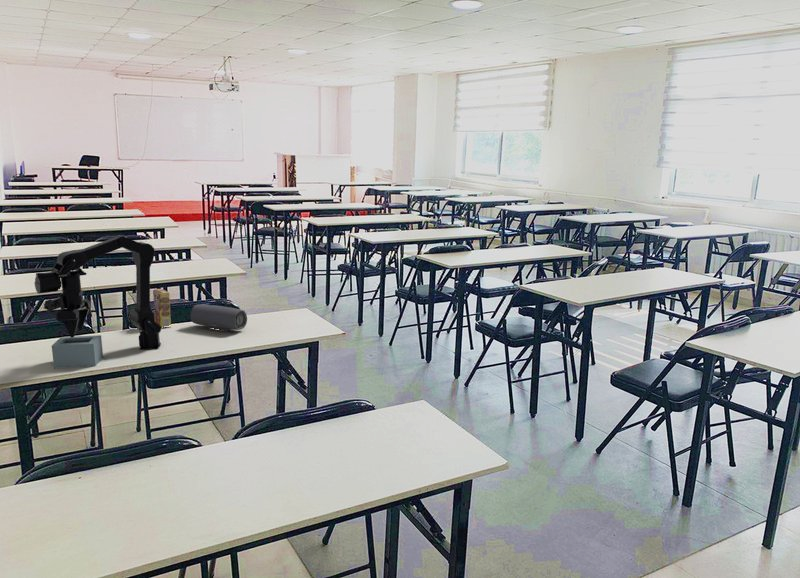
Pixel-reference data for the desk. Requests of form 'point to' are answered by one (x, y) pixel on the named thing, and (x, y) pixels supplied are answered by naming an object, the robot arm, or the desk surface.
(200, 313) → the bluetooth speaker
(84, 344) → the blue-grey open box
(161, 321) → the candy box
